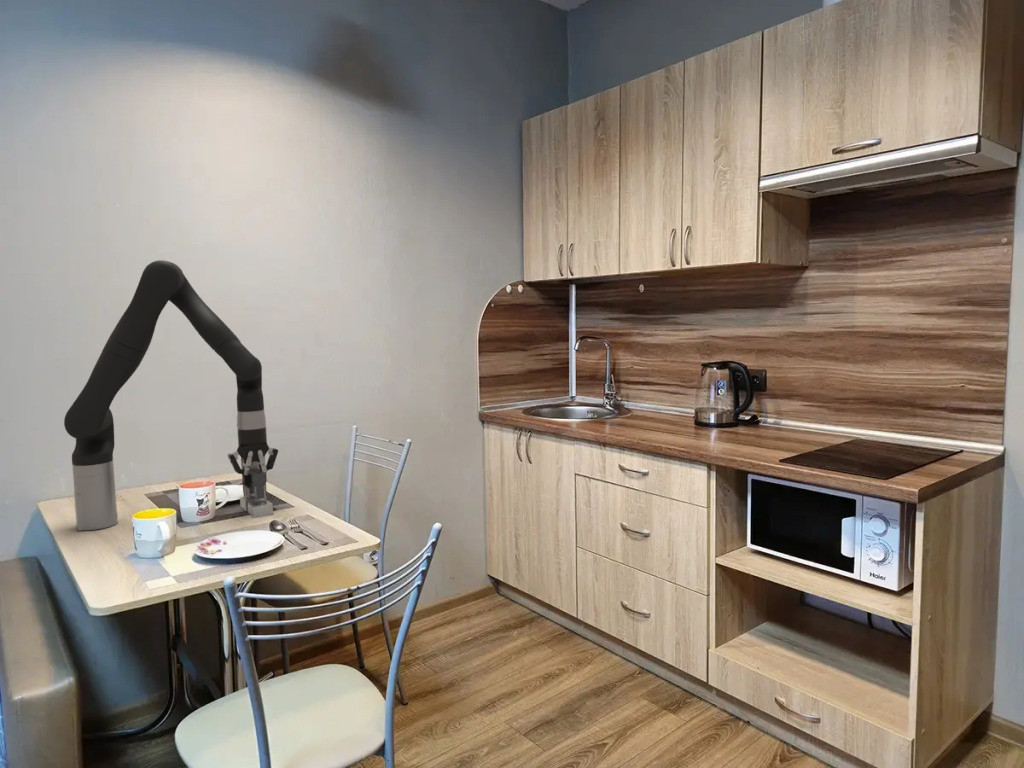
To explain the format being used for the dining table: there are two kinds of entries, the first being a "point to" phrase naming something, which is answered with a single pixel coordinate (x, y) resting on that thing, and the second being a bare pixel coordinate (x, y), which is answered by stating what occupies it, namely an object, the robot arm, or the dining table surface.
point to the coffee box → (253, 465)
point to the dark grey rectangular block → (256, 482)
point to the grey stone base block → (256, 506)
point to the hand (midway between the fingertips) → (255, 485)
